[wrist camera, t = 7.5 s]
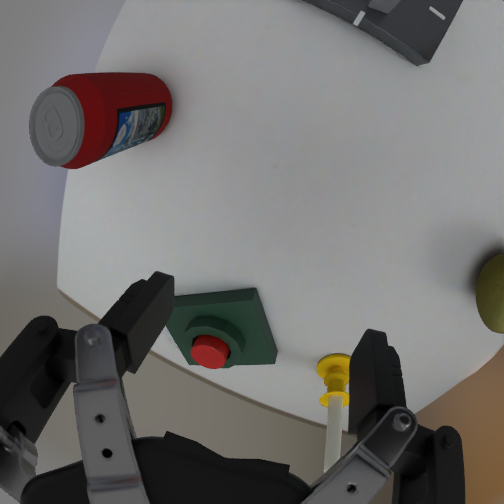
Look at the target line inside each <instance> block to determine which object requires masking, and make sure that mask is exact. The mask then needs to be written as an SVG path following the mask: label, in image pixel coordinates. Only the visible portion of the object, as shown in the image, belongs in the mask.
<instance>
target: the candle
mask: <svg viewBox="0 0 504 504" xmlns="http://www.w3.org/2000/svg"><path fill="white" fill-rule="evenodd" d="M350 359H351V357H350V356H347V355H343V354H333V355H329V356H326V357H324V358H323V359H321V360H320V361H319V362H318V364H317V373H318V375H319V376H320V377H322V378H323V379H324V384H325V385H326V386H328V387H327V392H328V393H325V394H323V395H322V396H321V398H320V403H321V404H322V405H323V406H325V407H328V421H327V437H326V449H325V461H324V473H325V472H326V471H327V470H328V469H329V468H330V467H331V466H332V465H334V464H335V463H336V462H337V461H338V460H339V459H340V449H341V433H342V411H343V407H345V406H347V405H349V394H348V393H347V392H345V386H346V385H347V384H348V382H349V363H350Z"/></svg>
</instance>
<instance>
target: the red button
mask: <svg viewBox="0 0 504 504" xmlns="http://www.w3.org/2000/svg"><path fill="white" fill-rule="evenodd" d="M228 353H229V348H228V346H227V344H226V343H225V342H224V341H223V340H221V339H220V338H217V337H215V336H212V335H200V336H199V337H197V338H196V340H195V342H194V344H193V347H192V349H191V356H192V358H193V359H194V361H196V362H197V363H198V364H199V365H201V366H203V367H206V368H210V369H218V368H221V367H222V366H223V365H224V364H225V362H226V359H227V356H228Z"/></svg>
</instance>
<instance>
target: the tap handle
mask: <svg viewBox="0 0 504 504" xmlns="http://www.w3.org/2000/svg"><path fill="white" fill-rule="evenodd" d="M400 1H401V0H369V2H368V7H369V8H372V9H375V10H378V11H381V12H384V13H387V14H389V13H390V11H391V10H392V9H393V8H394V7H395V6H396V5H397V4H398V3H399V2H400Z"/></svg>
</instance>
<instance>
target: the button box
mask: <svg viewBox="0 0 504 504" xmlns="http://www.w3.org/2000/svg"><path fill="white" fill-rule="evenodd" d="M166 327H167V329H168V330H169V332H170V334H171V336H172V337H173V339H174V341H175V342H176V344H177V346H178V347H179V349H180V351H181V352H182V354H183V356H184V357H185V359H186V361H187V362H188V364H189V365H199V364H198V363H197V362H196V361H194V359H193V358H192V356H191V349H192V347H193V344H194V342H195V340H196V338H197V337H199V336H200V335H212V336H215V337H217V338H220V339H221V340H223V341H224V342H225V343H226V344H227V346H228V348H229V353H228V356H227V359H226V362H225V364H224V365H223V366H222V367H221V368H230V367H232V366H234V365H262V364H275V362H276V357H277V352H278V351H277V348H276V345H275V342H274V339H273V336H272V333H271V330H270V327H269V324H268V321H267V318H266V316H265V313H264V310H263V307H262V304H261V301H260V298H259V295H258V292H257V289H256V288H250V289H242V290H233V291H224V292H215V293H205V294H196V295H186V296H175V297H174V308H173V312H172V315H171V317H170V319H169V320H168V322H167V323H166Z"/></svg>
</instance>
